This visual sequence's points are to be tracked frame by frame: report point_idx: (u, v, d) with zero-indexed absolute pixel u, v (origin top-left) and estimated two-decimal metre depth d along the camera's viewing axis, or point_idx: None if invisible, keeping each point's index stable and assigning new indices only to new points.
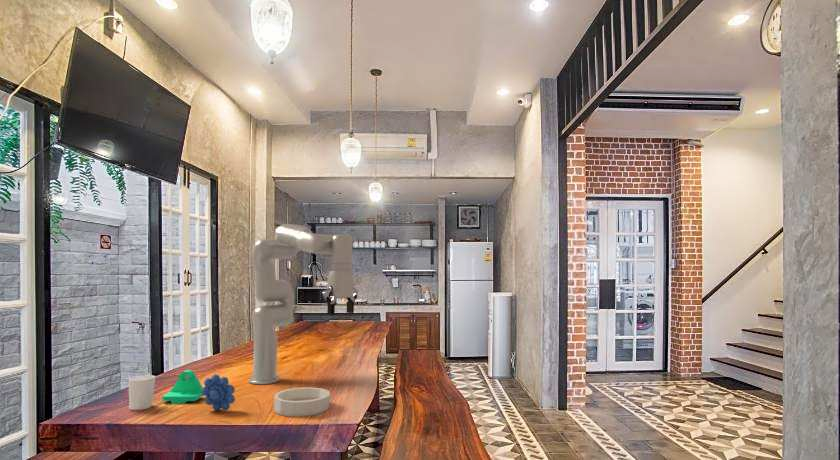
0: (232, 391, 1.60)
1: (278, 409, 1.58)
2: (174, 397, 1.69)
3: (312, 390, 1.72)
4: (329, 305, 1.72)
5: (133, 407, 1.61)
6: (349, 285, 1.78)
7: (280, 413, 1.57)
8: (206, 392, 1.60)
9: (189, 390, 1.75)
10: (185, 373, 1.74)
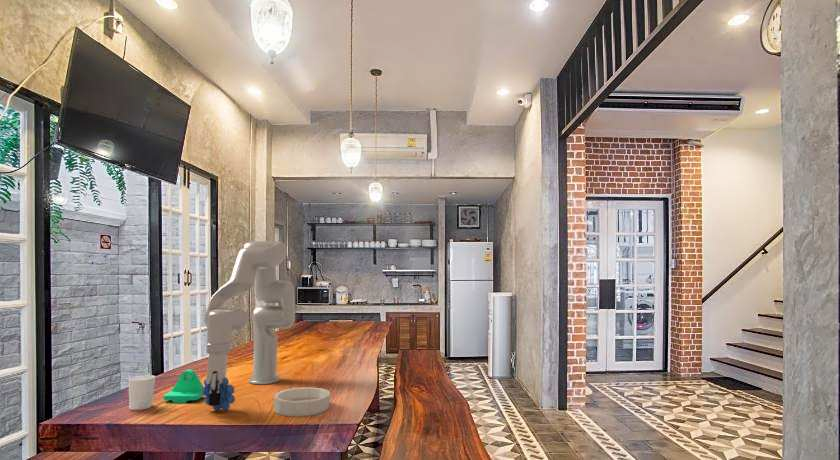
0: (232, 391, 1.60)
1: (278, 409, 1.58)
2: (175, 396, 1.70)
3: (312, 390, 1.72)
4: (214, 395, 1.56)
5: (133, 407, 1.61)
6: (226, 366, 1.63)
7: (280, 413, 1.57)
8: (206, 392, 1.60)
9: (190, 389, 1.76)
10: (186, 372, 1.74)
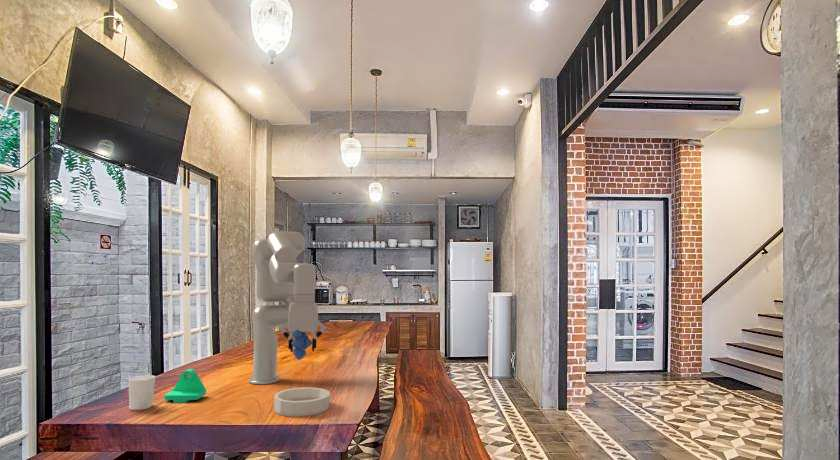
0: None
1: (278, 409, 1.58)
2: (176, 396, 1.70)
3: (312, 390, 1.72)
4: None
5: (133, 407, 1.61)
6: None
7: (280, 413, 1.57)
8: None
9: (191, 389, 1.76)
10: (187, 372, 1.75)
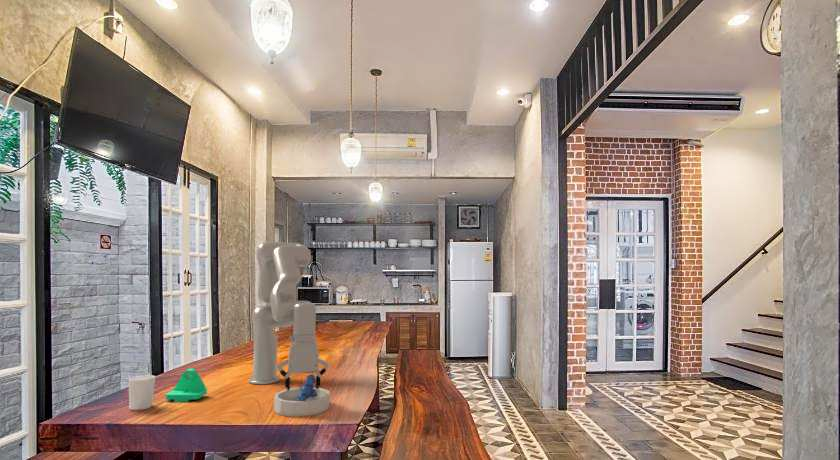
0: None
1: (278, 409, 1.58)
2: (177, 395, 1.71)
3: None
4: None
5: (133, 407, 1.61)
6: None
7: (280, 413, 1.57)
8: None
9: (192, 389, 1.77)
10: (188, 372, 1.76)
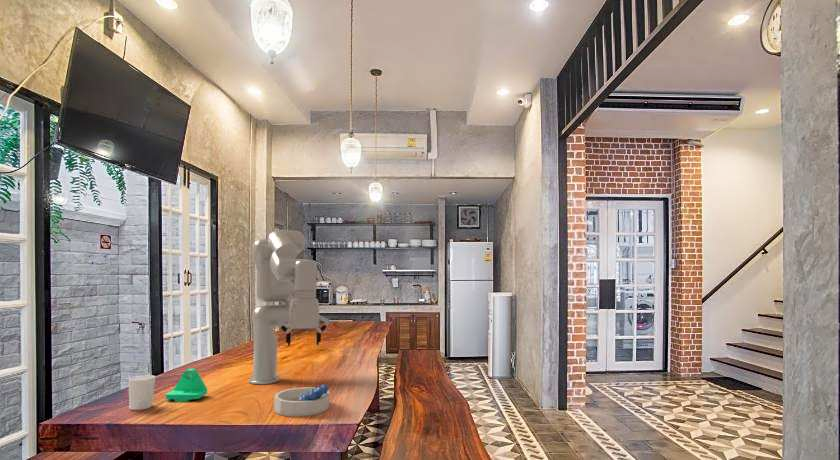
0: None
1: (278, 409, 1.58)
2: (177, 395, 1.71)
3: None
4: (320, 334, 1.68)
5: (133, 407, 1.61)
6: None
7: (280, 413, 1.57)
8: None
9: (192, 388, 1.77)
10: (188, 372, 1.76)
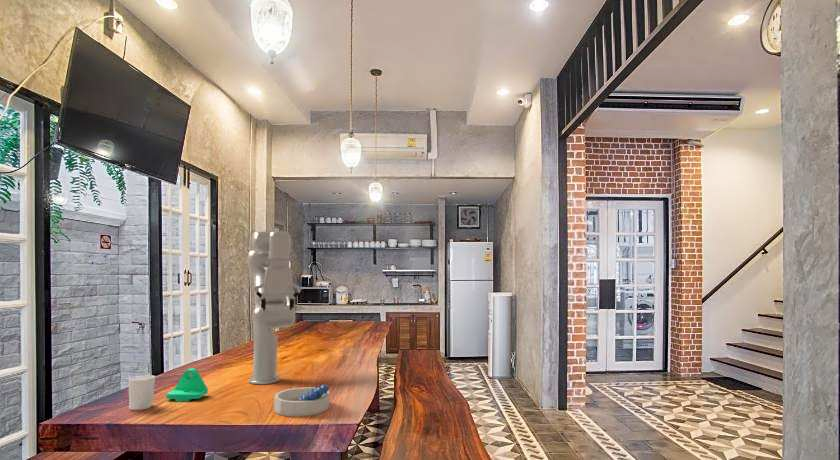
0: None
1: (278, 409, 1.58)
2: (178, 395, 1.71)
3: None
4: (293, 300, 1.81)
5: (133, 407, 1.61)
6: None
7: (280, 413, 1.57)
8: None
9: (192, 388, 1.78)
10: (189, 371, 1.76)
